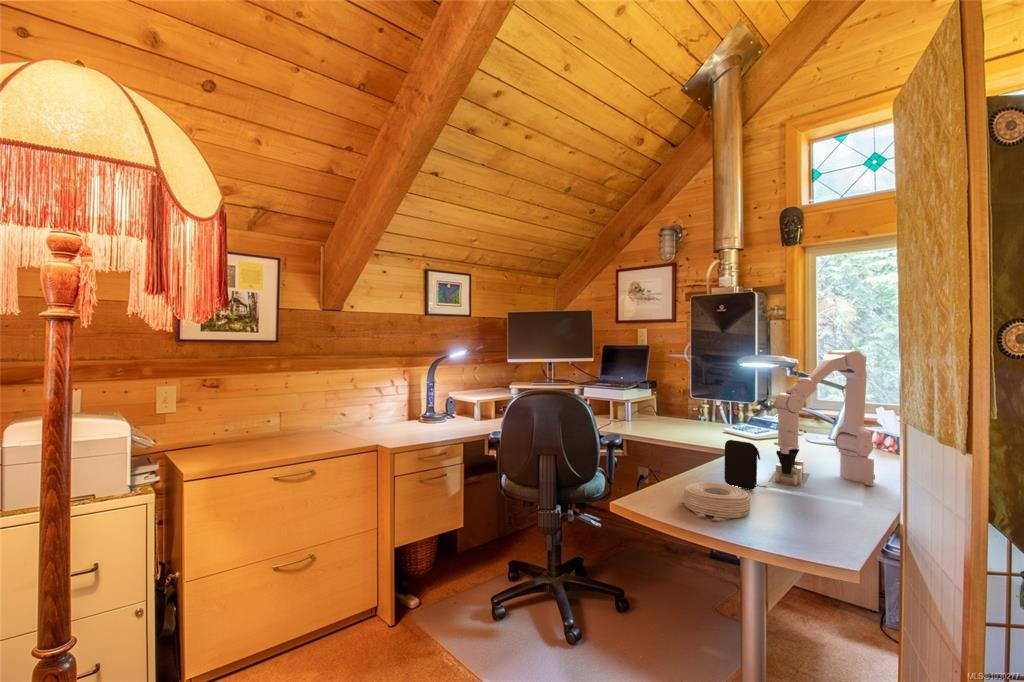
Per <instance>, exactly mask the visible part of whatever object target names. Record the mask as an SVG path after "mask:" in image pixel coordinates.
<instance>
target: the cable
mask: <svg viewBox="0 0 1024 682" xmlns="http://www.w3.org/2000/svg"><path fill="white" fill-rule="evenodd" d="M681 500H682V502H683V504H684V505H685V507H686V508H687V509H689V510H690V511H692V512H693V513H695V514H696V515H697V516H698V517H699V518H701V519H706V518H707V516H708V517H712V518H711V519H710V521H711V522H721V521H722V520H723V521H726V520H725V519H727V520H730V519H729V518H732V519H739V518H743V517H745V516H748V515H749V514H750V512H751V496H750V494H749V493H748V492H747V491H745V489H743V488H739V487H735V486H732V485H728V484H727V483H721V482H712V481H701V482H694V483H693V482H692V483H689V484H687V485H686V486H685V487H684V489H683V495H682V497H681Z"/></svg>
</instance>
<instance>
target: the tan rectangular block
mask: <svg viewBox="0 0 1024 682" xmlns="http://www.w3.org/2000/svg"><path fill="white" fill-rule="evenodd" d="M778 463H780V460H779V461H778ZM794 465H797V466H802V477H803V476H804V473H805V459H799V458H798V459H797V458H796V459H795V463H794Z"/></svg>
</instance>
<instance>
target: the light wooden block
mask: <svg viewBox="0 0 1024 682" xmlns="http://www.w3.org/2000/svg"><path fill="white" fill-rule="evenodd" d="M775 471H776V472H779V473H780V477H779V481H781V482H788V483H793V475H797V484H800V485H801V482H802V466H797V465H792V470H791V473H790V475H789V474H783V473H782V469H781V463H779V462H777V463H776V464H775Z"/></svg>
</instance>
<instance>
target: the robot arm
mask: <svg viewBox="0 0 1024 682" xmlns="http://www.w3.org/2000/svg"><path fill="white" fill-rule="evenodd" d="M866 368H867V357H866V356H865V355H864V354H863V353H862V352H861V351H860V350H846V349H845V350H844V349H831V350H829V351H828V352H827V353H826V354H824V355H823V359H822V361H821V362H820V363H819V364H818V365H817V366H816V367H815V369H813V371H812V372H811V373H810V374H809V375H808V376H807V377H800V378H796V381H795V383H794V384H793V385H792V386H790V387H789V388H787V390H786V391H785V392H782V393H779V394H778V395H777V396H776V398H775V400H774V401H773V404H774V407H775V408H776V413H777V416H778V418H777V419H778V420H777V422H778V423H777V425H778V426H777V428H778V429H777V435H778V436H777V437H778V438H777V441H774V442H773V445H774V446H778V447H779V450H776V451H775V453H776V455H777V458H778V459H779V460H780V463H781V469H782V473H783V474H789V475H790V473H791V470H792V465H794V463H795V459H797V455H798V454H799V452H800V448H799V447H800V444H799V412H800V411H802V410H803V408H804V404H805V402H806V401H807V400H808V398H810V397H811V396H812V395H813V394H814V393H815V392H816V391H817V386H818V384H819V383H821V382H822V381H823V380H824V379H826V378H827V377H828V376H829V375H831V374H832V373H833V372H839V373H841V374H842V375H843V376H844V377H845V379H846V380H845V396H844V397H845V399H844V400H845V401H844V413H843V414H844V417H843V420H844V421H843V424H842V425H840V426H839V427H837V432H836V435H835V437H834V445H835V447H836V448H837V450H838V452H839V453H840V454H839V457H840V460H839V476H840V478H842V479H845V480H847V481H853V482H863V485H864V486H870V487H874V486H875V485H874V482H875V480H876V474H875V473H874V471H875V469H874V468H875V456H870V454H871V453H872V452H873V451H874V450H873V449H874V443H873V442H874V441H873V440H872V433H871V431H869V429H867V428H866V427H865V414H866V413H865V411H866V409H865V408H866V398H867V397H866V391H867V374H868V373H867V372H868V371H867V369H866Z"/></svg>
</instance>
